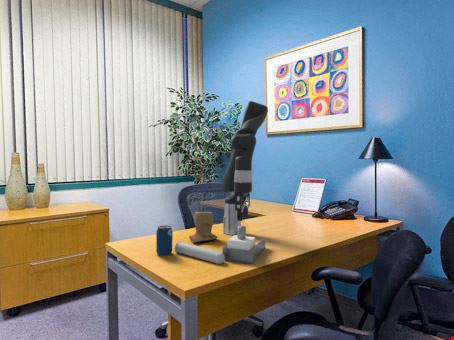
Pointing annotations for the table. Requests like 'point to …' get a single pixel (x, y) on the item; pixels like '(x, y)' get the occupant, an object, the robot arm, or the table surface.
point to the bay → (244, 253)
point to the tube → (200, 252)
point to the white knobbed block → (241, 240)
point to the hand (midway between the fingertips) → (242, 218)
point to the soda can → (164, 240)
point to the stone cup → (203, 227)
